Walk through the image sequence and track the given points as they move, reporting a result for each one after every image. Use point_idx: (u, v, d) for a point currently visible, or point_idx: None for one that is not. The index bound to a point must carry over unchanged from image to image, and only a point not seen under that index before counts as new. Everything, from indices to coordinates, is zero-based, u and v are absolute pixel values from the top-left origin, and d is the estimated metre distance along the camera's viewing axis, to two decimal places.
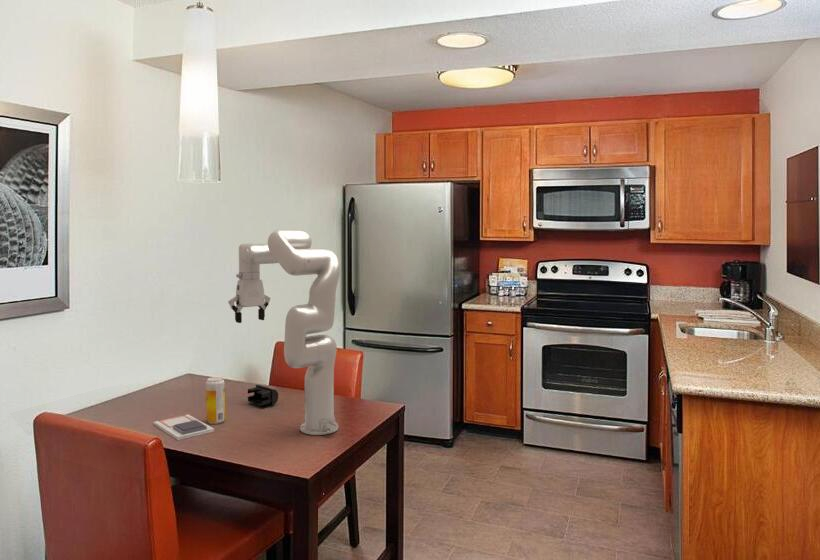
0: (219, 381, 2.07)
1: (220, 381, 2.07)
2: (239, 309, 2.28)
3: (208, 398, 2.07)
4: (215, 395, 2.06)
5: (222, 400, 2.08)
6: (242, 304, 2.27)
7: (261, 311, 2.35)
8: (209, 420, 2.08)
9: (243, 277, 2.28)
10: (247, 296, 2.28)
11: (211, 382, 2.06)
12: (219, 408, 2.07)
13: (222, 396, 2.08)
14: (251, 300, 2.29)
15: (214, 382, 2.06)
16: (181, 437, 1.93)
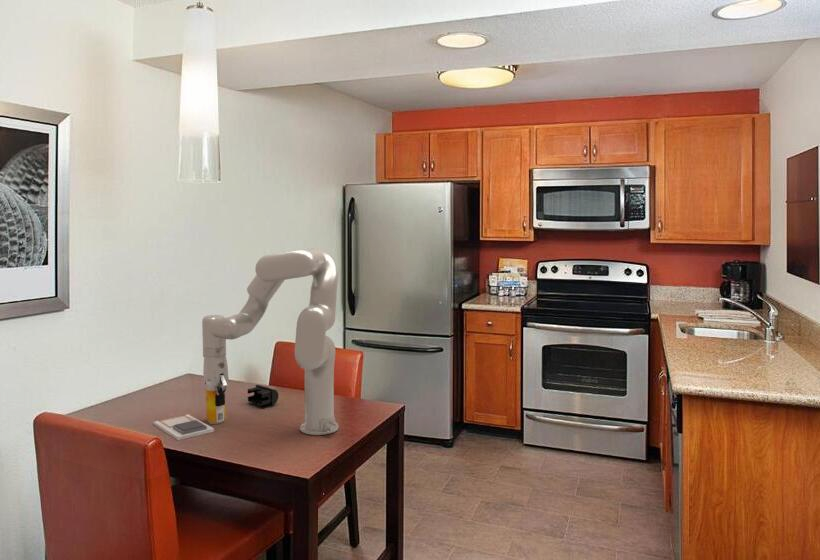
0: None
1: None
2: None
3: (208, 398, 2.07)
4: None
5: None
6: (228, 381, 2.07)
7: None
8: (209, 420, 2.07)
9: (223, 352, 2.07)
10: None
11: None
12: (219, 408, 2.07)
13: None
14: None
15: None
16: (181, 437, 1.93)
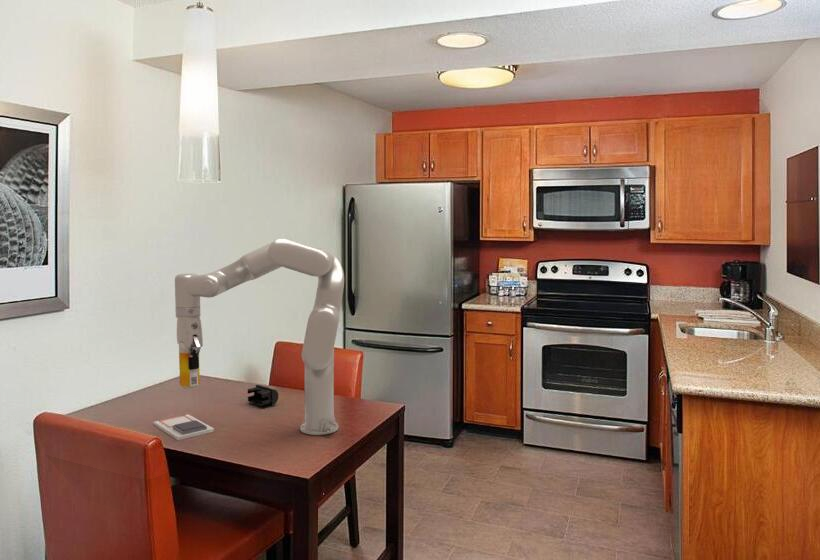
0: None
1: None
2: None
3: (181, 360, 1.96)
4: None
5: None
6: (202, 344, 1.96)
7: None
8: (182, 384, 1.96)
9: (197, 313, 1.95)
10: None
11: (184, 344, 1.95)
12: (192, 372, 1.96)
13: None
14: None
15: None
16: (181, 437, 1.93)
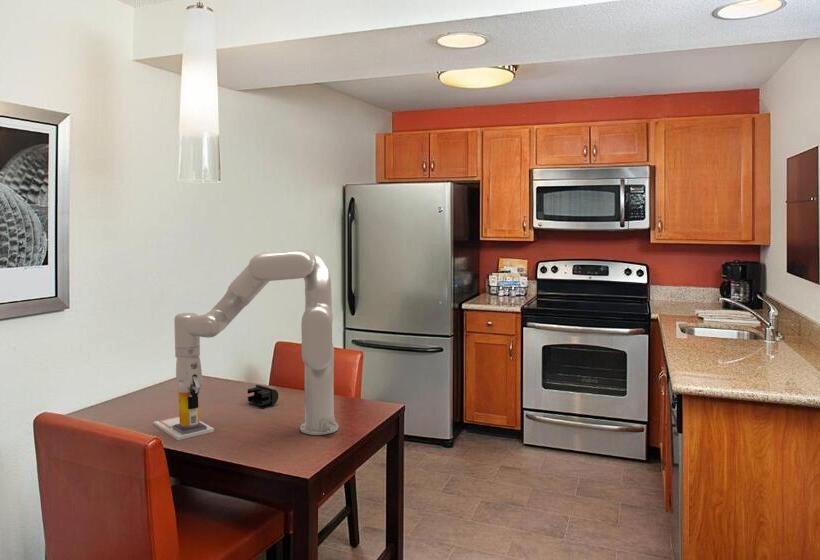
0: None
1: None
2: None
3: (180, 400, 1.96)
4: None
5: None
6: None
7: None
8: (182, 423, 1.97)
9: (196, 352, 1.96)
10: None
11: (183, 383, 1.96)
12: (192, 410, 1.97)
13: None
14: None
15: None
16: (181, 437, 1.93)
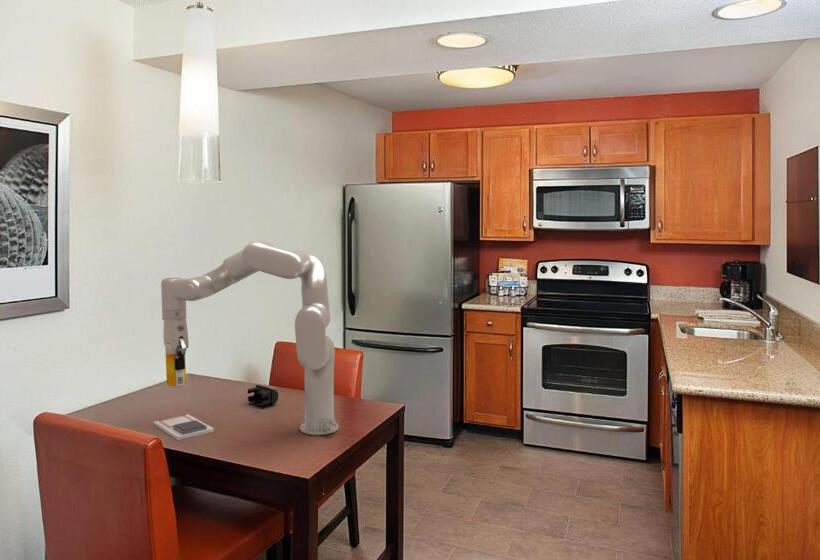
0: None
1: None
2: None
3: (167, 361, 2.03)
4: (174, 358, 2.02)
5: None
6: (188, 345, 2.03)
7: None
8: (169, 384, 2.03)
9: (183, 315, 2.02)
10: None
11: (170, 345, 2.02)
12: (178, 372, 2.03)
13: None
14: None
15: None
16: (181, 437, 1.93)
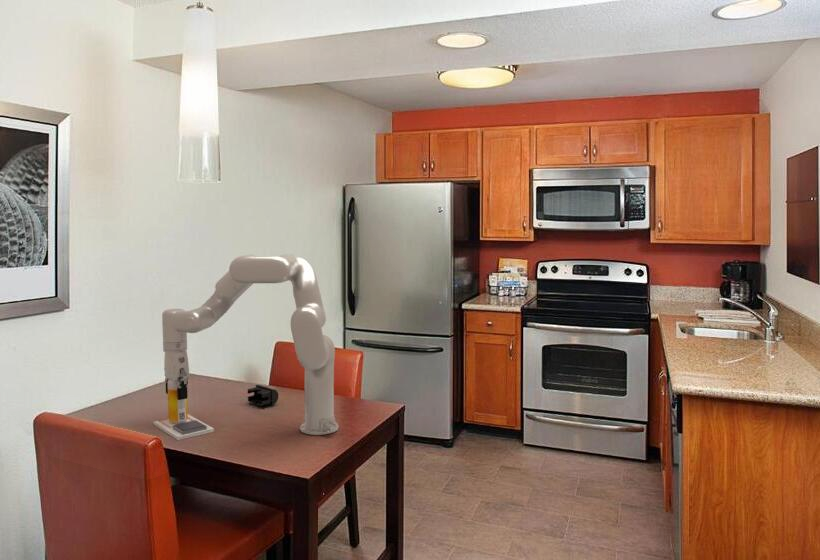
0: None
1: None
2: None
3: (169, 397, 2.04)
4: (176, 394, 2.03)
5: (184, 400, 2.05)
6: None
7: None
8: (171, 420, 2.04)
9: (184, 347, 2.03)
10: None
11: (172, 381, 2.03)
12: (180, 407, 2.04)
13: None
14: None
15: (175, 381, 2.03)
16: (181, 437, 1.93)
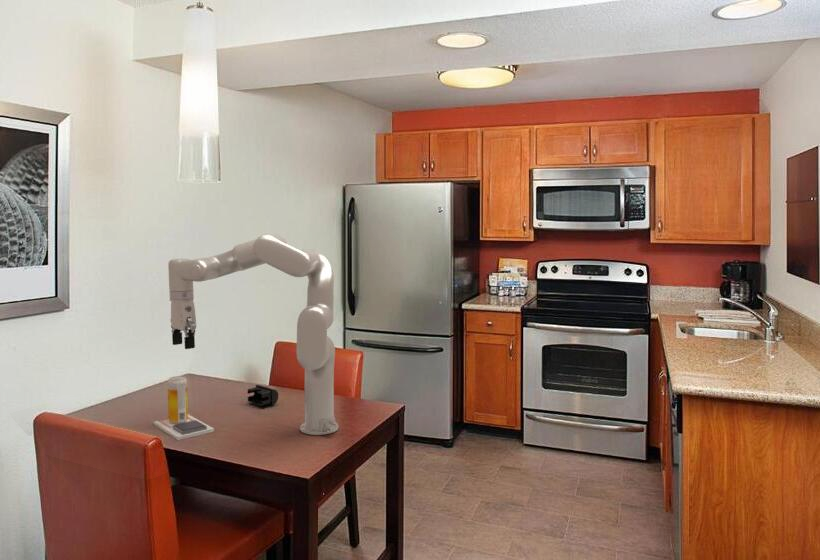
0: (181, 380, 2.04)
1: (182, 380, 2.04)
2: None
3: (169, 397, 2.04)
4: (176, 394, 2.03)
5: (184, 400, 2.05)
6: None
7: (179, 334, 2.09)
8: (171, 420, 2.04)
9: (190, 296, 2.03)
10: None
11: (172, 381, 2.03)
12: (180, 408, 2.04)
13: (184, 395, 2.05)
14: None
15: (175, 381, 2.03)
16: (181, 437, 1.93)
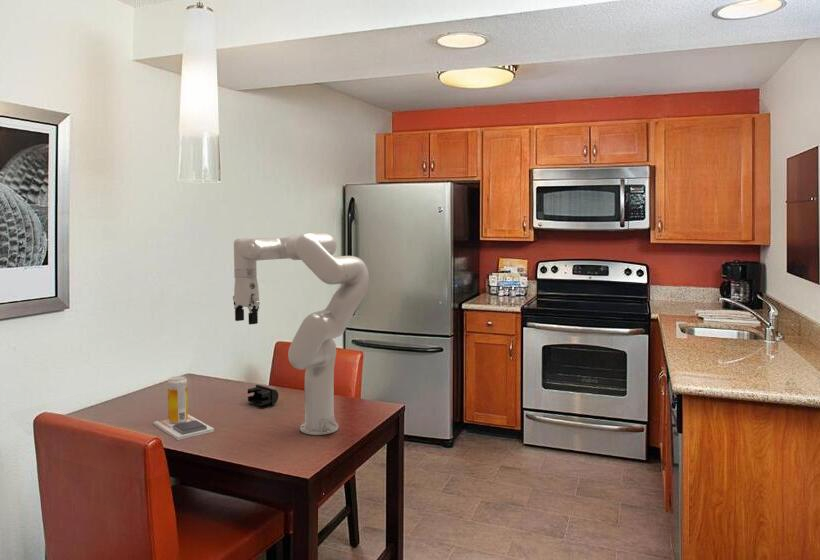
0: (181, 380, 2.04)
1: (182, 380, 2.04)
2: None
3: (169, 397, 2.04)
4: (176, 394, 2.03)
5: (184, 400, 2.05)
6: None
7: (242, 311, 2.19)
8: (171, 420, 2.04)
9: (254, 274, 2.12)
10: None
11: (172, 381, 2.03)
12: (180, 408, 2.04)
13: (184, 395, 2.05)
14: None
15: (175, 381, 2.03)
16: (181, 437, 1.93)
